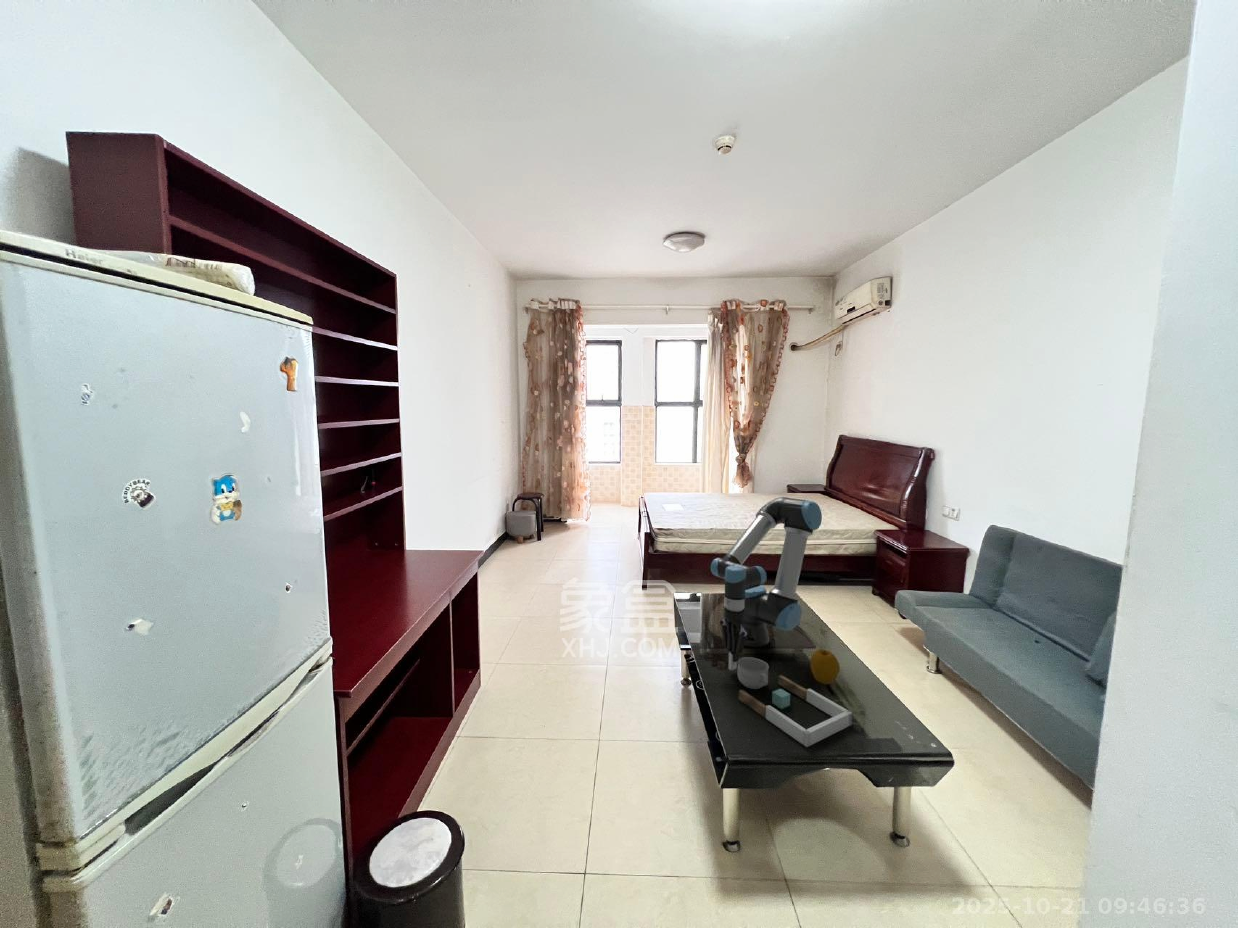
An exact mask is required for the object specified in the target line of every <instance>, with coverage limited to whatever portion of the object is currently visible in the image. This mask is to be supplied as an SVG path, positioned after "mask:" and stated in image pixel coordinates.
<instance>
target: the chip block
mask: <svg viewBox="0 0 1238 928" xmlns="http://www.w3.org/2000/svg"><path fill="white" fill-rule="evenodd" d="M771 693H772V695H771V696H772V697H771V700H772V701H771V703H772V704H773V705H775V706H777V708H779V709H781V710H783V709H786V708H788V707H790V706H791V693H789V692H787V691H786V690H784V689H782V688H778V689H776V690H773V691H772V692H771Z"/></svg>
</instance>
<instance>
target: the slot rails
mask: <svg viewBox="0 0 1238 928" xmlns="http://www.w3.org/2000/svg"><path fill="white" fill-rule="evenodd" d="M777 679H778V680H777V681H778V685H779V686H781V687H782V688H784V689H785V690H788V691H789V692H790V693H792V694H794V695H796V696H797V697H799V698H801V699H802V700H804V701H806V697H807V688H805V687H803V686H801V685H800V684H798V683H796V682H794V681H792V680H791V679H789V678H787V677H786V676H784V675H782V674H780V675H778V678H777ZM738 700H739V701H740V702H742V703H743V704H745V705H746V706H748V708H751V709H752V710H753V711H754V712H756V713H757V714H759V715H761V717H763V718H765V719H766V706H767V705H766V704H764V703H763V702H761V701H760V700H758V699H757V698H755V697H754V696H752V695H751V694H749V693H748V692H747V691H745V690H743V689H740V690H738Z"/></svg>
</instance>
